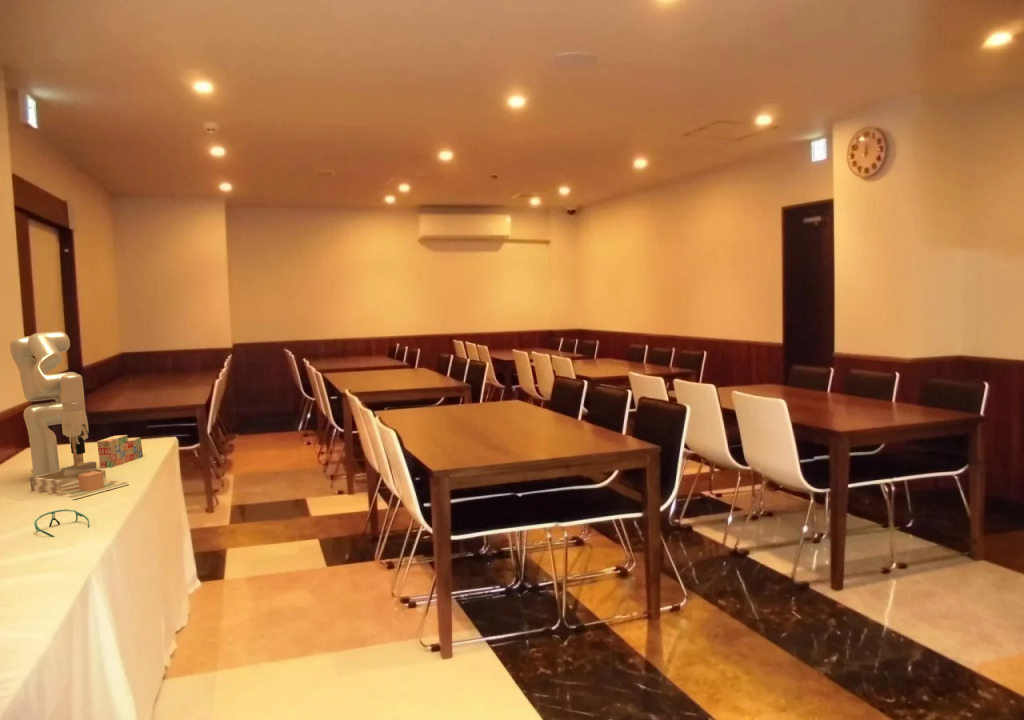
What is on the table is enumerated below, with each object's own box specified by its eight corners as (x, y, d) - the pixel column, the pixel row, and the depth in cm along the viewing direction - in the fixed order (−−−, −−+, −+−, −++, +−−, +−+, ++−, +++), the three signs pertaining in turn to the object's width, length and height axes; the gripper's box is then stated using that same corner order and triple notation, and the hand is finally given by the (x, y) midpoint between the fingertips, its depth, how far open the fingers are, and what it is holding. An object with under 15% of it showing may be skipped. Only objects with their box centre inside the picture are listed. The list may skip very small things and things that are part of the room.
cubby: (27, 494, 291) (25, 478, 291) (83, 479, 310) (81, 465, 310) (74, 500, 277) (72, 484, 276) (129, 485, 296) (127, 470, 295)
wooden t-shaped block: (61, 475, 287) (58, 434, 286) (92, 468, 298) (88, 428, 296) (66, 476, 286) (63, 435, 284) (96, 469, 296) (93, 429, 295)
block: (79, 490, 288) (77, 474, 287) (94, 486, 293) (92, 471, 292) (89, 491, 285) (87, 476, 284) (104, 487, 290) (102, 472, 290)
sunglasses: (76, 519, 251) (75, 505, 251) (95, 531, 242) (94, 516, 241) (29, 531, 241) (28, 516, 240) (47, 544, 231) (46, 528, 230)
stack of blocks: (131, 457, 354) (128, 431, 352) (143, 456, 353) (140, 431, 351) (99, 468, 333) (96, 440, 331) (112, 467, 332) (109, 440, 330)
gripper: (51, 406, 290) (56, 453, 292) (76, 409, 282) (81, 457, 284) (70, 403, 296) (75, 449, 298) (96, 406, 289) (100, 453, 291)
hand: (78, 452), depth 291 cm, fingers closed on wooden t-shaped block, 2 cm apart
